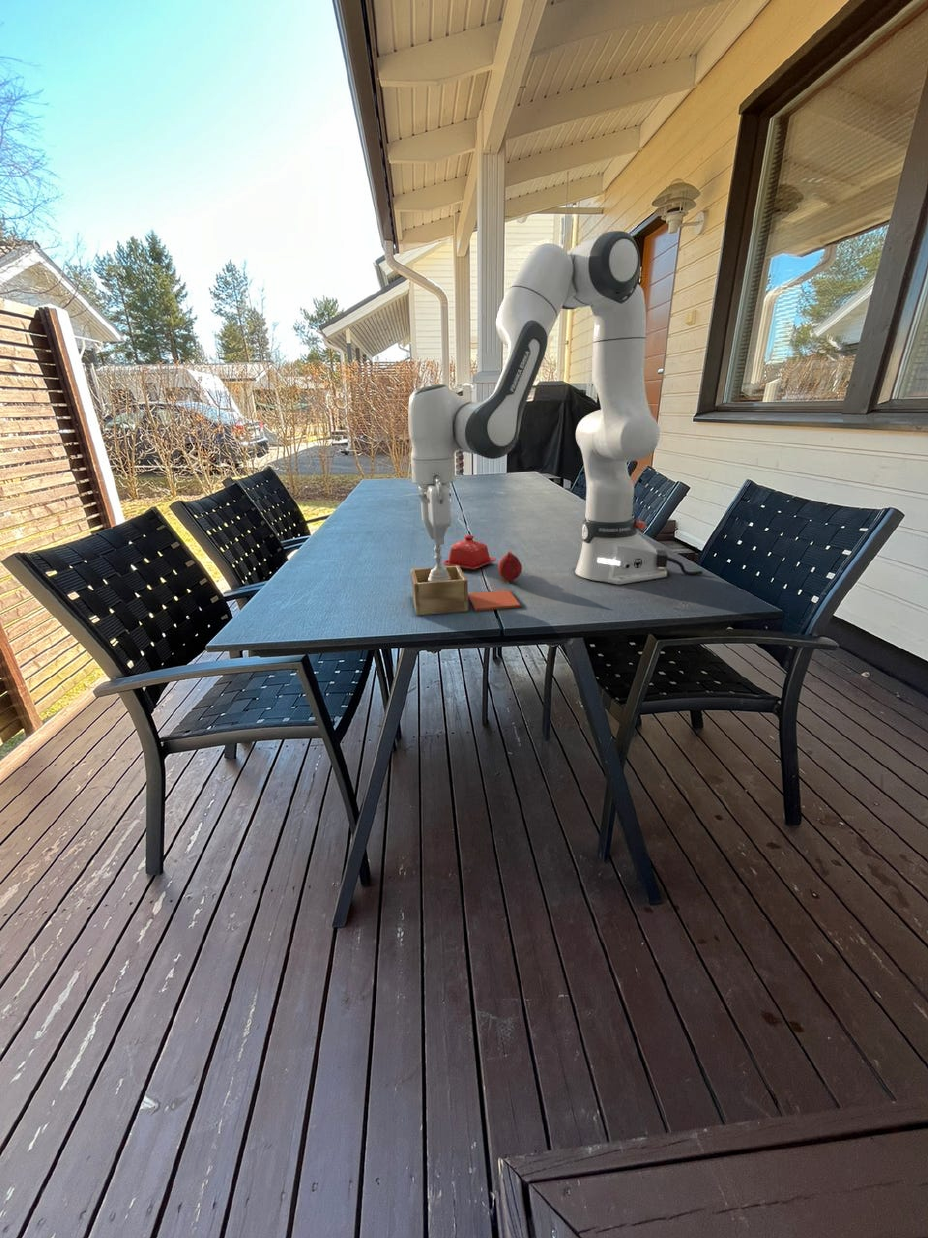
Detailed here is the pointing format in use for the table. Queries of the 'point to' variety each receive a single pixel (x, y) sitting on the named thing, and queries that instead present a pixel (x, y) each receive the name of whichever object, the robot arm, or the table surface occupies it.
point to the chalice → (439, 571)
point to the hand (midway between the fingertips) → (437, 540)
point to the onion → (509, 567)
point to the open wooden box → (439, 592)
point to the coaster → (493, 600)
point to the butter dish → (469, 554)
